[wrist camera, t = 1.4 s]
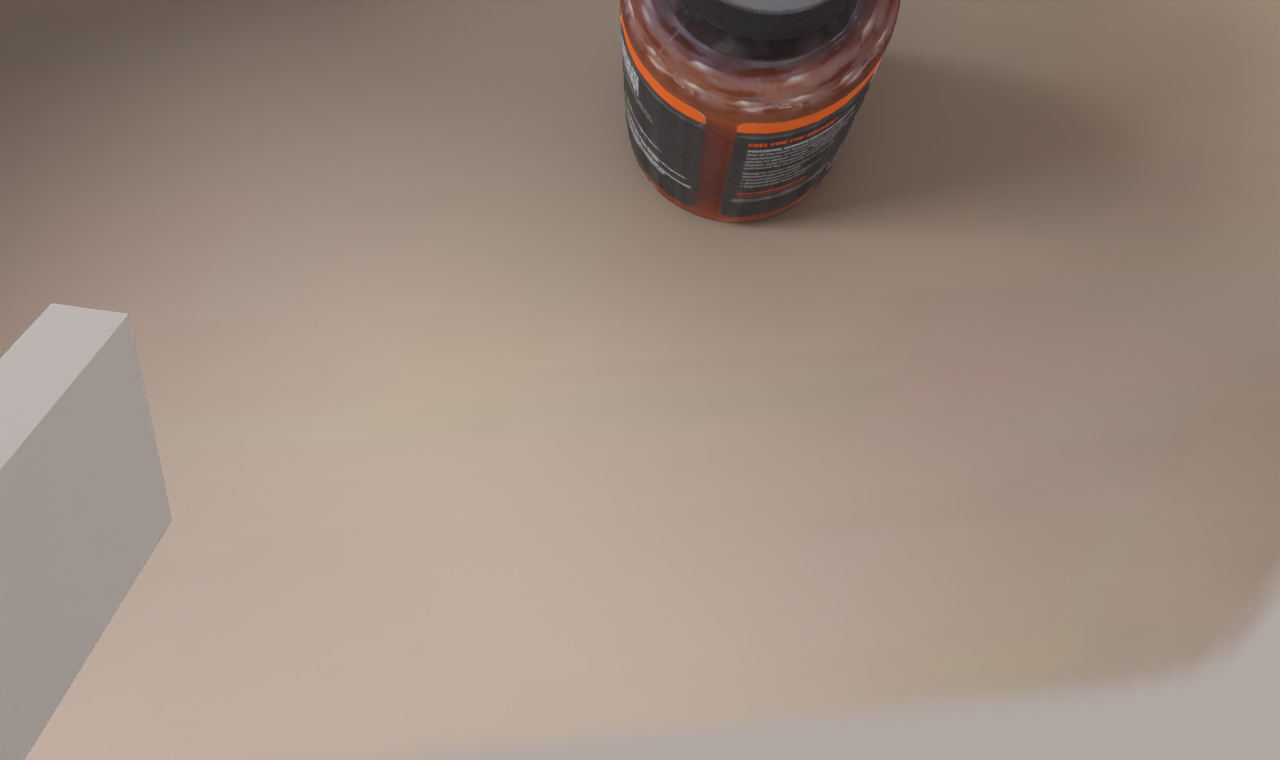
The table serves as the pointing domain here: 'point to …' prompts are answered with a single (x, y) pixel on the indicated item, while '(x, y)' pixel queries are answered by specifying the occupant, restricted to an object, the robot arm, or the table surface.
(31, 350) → the robot arm
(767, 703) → the table surface
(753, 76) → the supplement bottle
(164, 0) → the table surface
